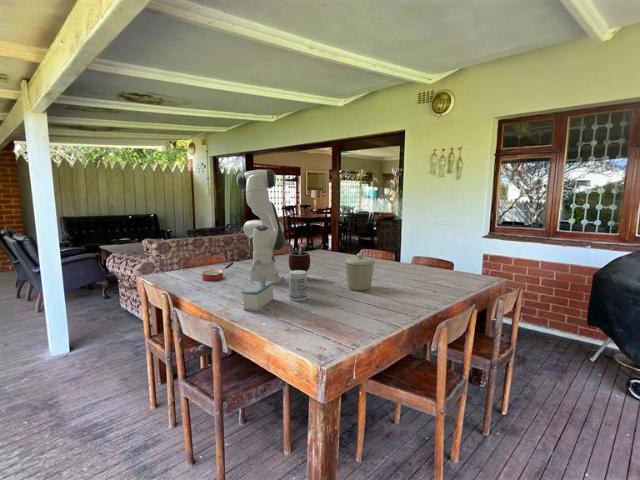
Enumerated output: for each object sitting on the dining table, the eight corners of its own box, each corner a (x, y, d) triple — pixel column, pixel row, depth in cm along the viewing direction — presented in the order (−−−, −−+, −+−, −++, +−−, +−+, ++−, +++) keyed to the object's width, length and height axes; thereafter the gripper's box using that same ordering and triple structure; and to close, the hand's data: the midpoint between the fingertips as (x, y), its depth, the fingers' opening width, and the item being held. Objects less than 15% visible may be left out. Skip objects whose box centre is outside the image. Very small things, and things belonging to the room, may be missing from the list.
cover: (258, 283, 192) (258, 281, 192) (273, 283, 190) (273, 281, 190) (240, 293, 173) (240, 291, 173) (257, 293, 171) (257, 291, 171)
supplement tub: (300, 302, 185) (300, 274, 183) (285, 300, 190) (285, 272, 188) (310, 297, 194) (310, 271, 192) (295, 295, 198) (295, 269, 196)
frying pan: (221, 270, 261) (220, 261, 260) (238, 270, 259) (237, 262, 258) (198, 281, 230) (198, 271, 229) (217, 282, 228) (217, 272, 227)
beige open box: (261, 298, 193) (260, 283, 192) (273, 299, 191) (273, 284, 190) (243, 310, 174) (243, 294, 173) (257, 311, 172) (256, 295, 171)
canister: (373, 293, 201) (374, 256, 199) (341, 291, 205) (342, 255, 202) (375, 285, 219) (376, 251, 216) (345, 283, 223) (346, 250, 220)
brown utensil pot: (309, 282, 226) (309, 250, 224) (287, 282, 227) (287, 250, 224) (310, 276, 242) (310, 246, 239) (290, 276, 242) (289, 246, 239)
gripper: (259, 263, 168) (259, 292, 170) (275, 255, 187) (276, 281, 189) (246, 262, 170) (247, 291, 171) (264, 255, 189) (265, 281, 191)
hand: (262, 286), depth 180 cm, fingers closed, pressing on cover
